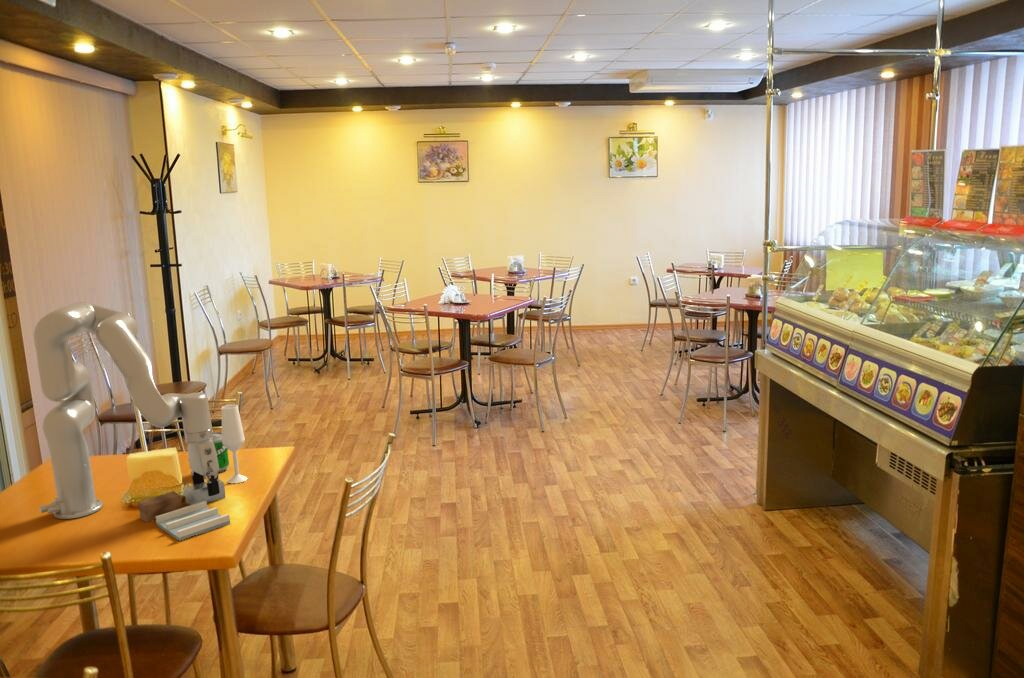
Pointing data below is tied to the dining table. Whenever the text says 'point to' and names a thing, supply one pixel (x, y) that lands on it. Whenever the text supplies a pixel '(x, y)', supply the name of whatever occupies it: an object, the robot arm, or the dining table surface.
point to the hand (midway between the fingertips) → (206, 490)
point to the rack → (191, 520)
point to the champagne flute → (233, 436)
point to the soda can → (220, 451)
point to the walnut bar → (159, 505)
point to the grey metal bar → (202, 493)
